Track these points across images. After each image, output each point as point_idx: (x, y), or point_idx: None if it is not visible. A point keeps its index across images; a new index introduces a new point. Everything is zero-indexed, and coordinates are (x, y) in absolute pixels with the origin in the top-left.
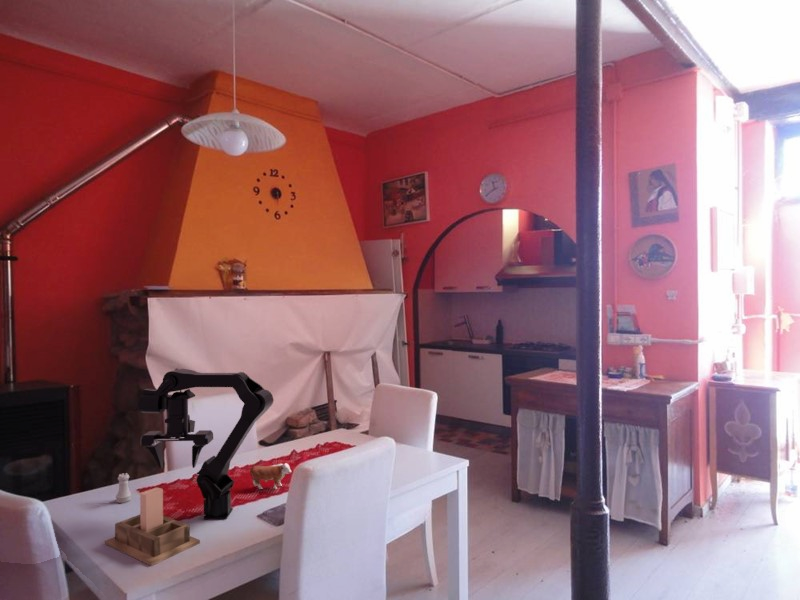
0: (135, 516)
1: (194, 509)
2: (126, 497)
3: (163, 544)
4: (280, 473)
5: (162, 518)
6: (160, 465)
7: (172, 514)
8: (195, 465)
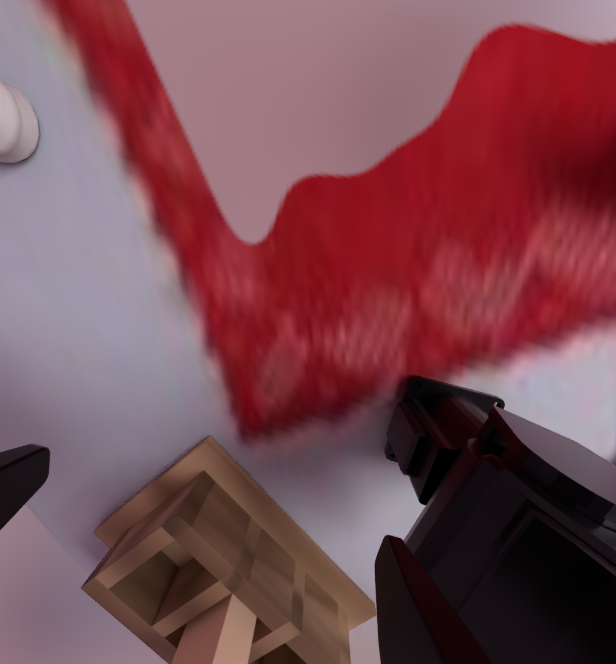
0: (134, 550)
1: (345, 341)
2: (7, 149)
3: None
4: None
5: (247, 653)
6: (5, 521)
7: (263, 365)
8: (407, 556)
